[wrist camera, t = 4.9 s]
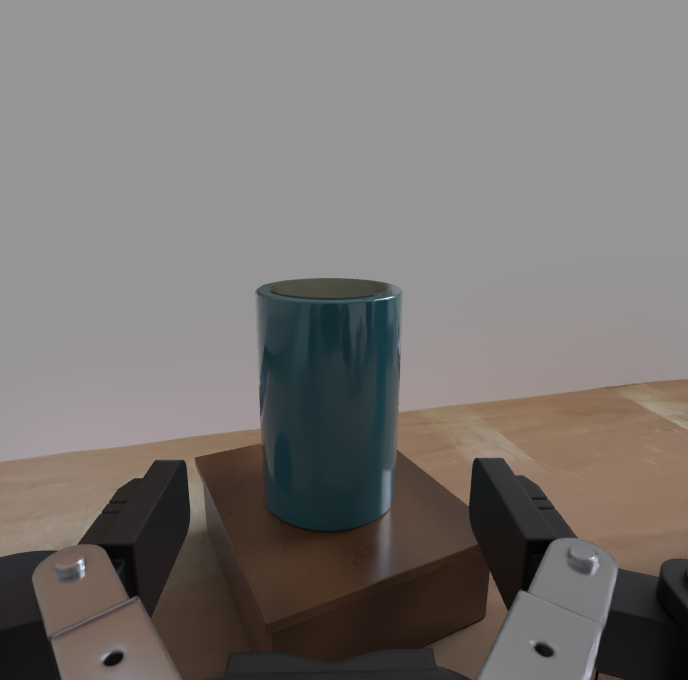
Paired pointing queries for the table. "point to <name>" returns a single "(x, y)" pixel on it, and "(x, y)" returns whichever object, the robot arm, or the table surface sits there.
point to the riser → (344, 566)
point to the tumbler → (329, 399)
